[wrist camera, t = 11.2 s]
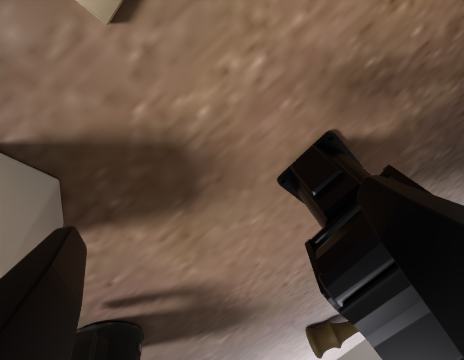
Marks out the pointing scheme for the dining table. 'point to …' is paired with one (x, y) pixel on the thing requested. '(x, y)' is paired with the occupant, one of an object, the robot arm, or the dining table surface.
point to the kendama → (329, 336)
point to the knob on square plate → (102, 8)
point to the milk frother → (108, 342)
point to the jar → (25, 210)
